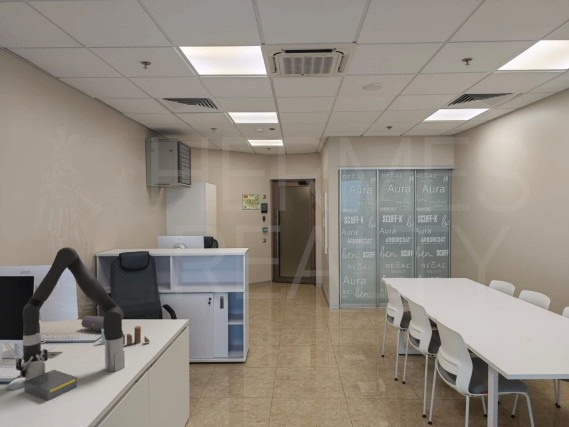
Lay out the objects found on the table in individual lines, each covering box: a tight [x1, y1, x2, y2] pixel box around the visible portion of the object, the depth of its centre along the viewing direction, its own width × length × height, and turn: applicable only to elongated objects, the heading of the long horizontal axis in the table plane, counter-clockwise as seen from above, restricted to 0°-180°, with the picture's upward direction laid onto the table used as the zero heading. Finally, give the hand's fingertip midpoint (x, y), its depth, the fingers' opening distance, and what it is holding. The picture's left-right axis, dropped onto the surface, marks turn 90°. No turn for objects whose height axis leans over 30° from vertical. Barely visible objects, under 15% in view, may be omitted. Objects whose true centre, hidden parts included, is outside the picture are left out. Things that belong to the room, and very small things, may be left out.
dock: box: [23, 369, 78, 402], centre depth 174 cm, size 19×14×5 cm
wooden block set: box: [123, 325, 150, 346], centre depth 231 cm, size 18×9×10 cm, turn 118°
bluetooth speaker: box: [81, 315, 104, 332], centre depth 260 cm, size 23×9×10 cm, turn 73°
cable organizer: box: [19, 357, 46, 381], centre depth 183 cm, size 6×11×11 cm, turn 95°
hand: (32, 373), depth 183 cm, fingers closed on cable organizer, 7 cm apart
